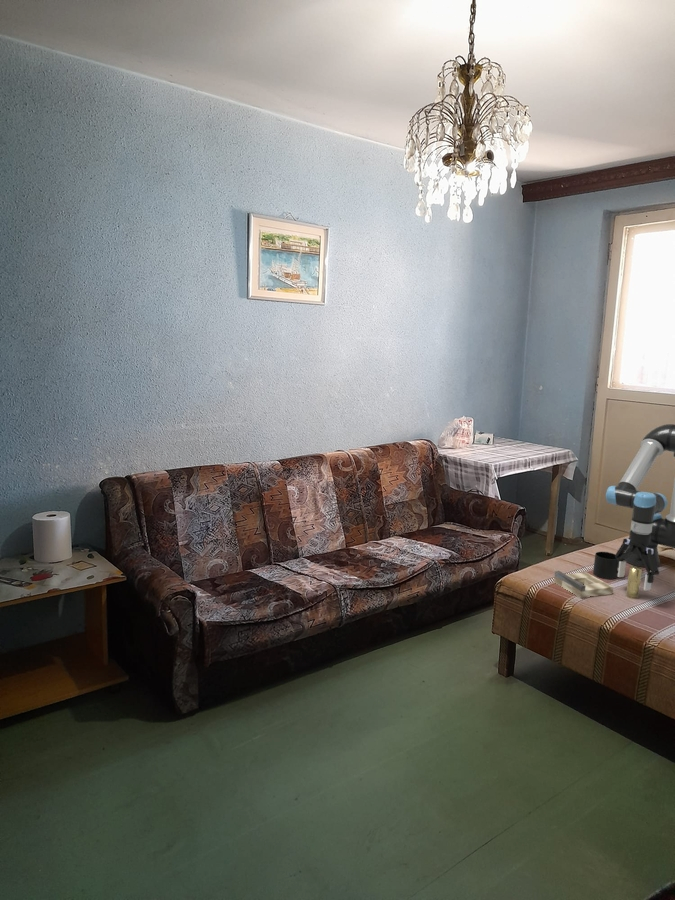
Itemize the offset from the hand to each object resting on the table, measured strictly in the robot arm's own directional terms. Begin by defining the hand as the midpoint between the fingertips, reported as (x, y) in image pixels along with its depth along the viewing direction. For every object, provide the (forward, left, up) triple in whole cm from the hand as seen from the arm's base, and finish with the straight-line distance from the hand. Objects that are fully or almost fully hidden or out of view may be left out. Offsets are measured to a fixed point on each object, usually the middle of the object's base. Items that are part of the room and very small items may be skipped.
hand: (633, 583), depth 252 cm
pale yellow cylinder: (0, 0, -6) cm, 6 cm away
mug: (-6, -20, -6) cm, 22 cm away
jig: (+14, -12, -6) cm, 19 cm away
